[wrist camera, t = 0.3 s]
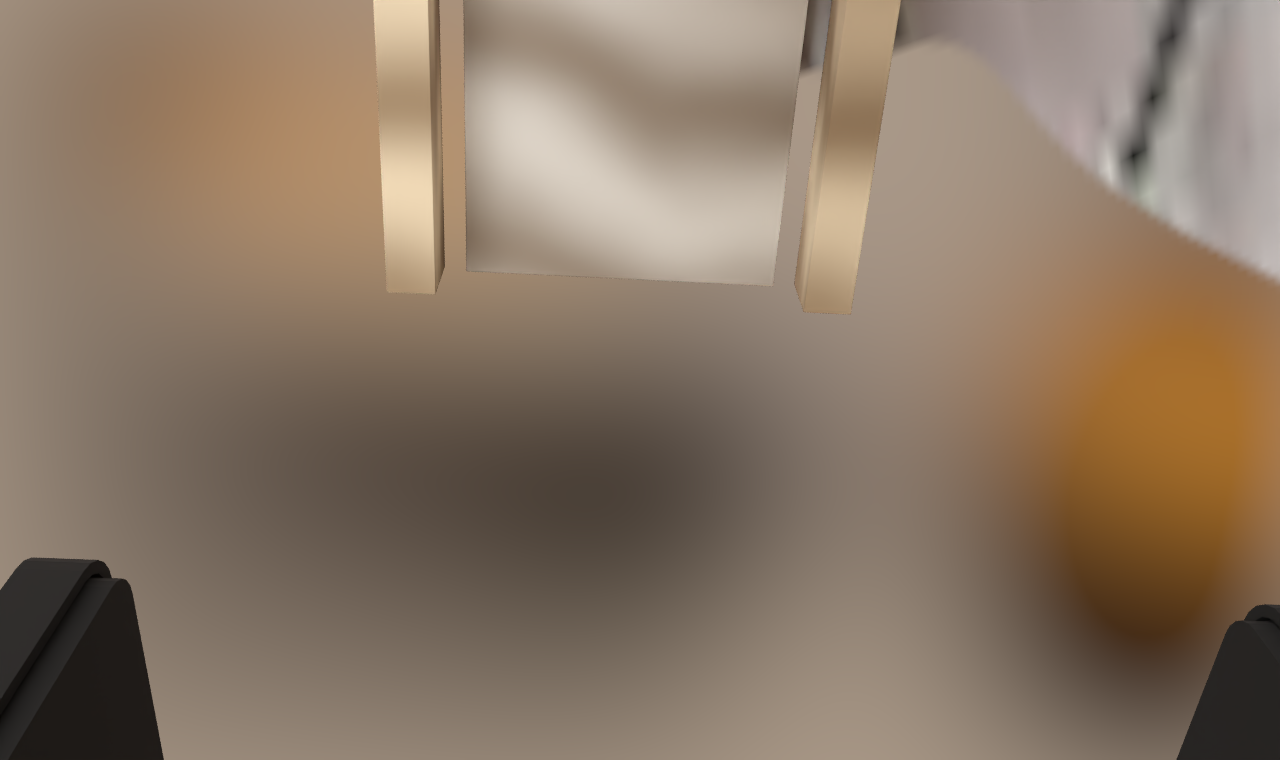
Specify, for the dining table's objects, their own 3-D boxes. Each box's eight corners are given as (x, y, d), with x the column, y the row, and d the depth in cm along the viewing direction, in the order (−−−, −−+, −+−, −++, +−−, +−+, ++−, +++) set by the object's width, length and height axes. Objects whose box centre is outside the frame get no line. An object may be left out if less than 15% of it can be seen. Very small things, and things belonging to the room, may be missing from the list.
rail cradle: (380, -176, 34) (365, -172, 32) (903, -143, 35) (922, -136, 33) (398, 264, 41) (386, 292, 39) (838, 286, 41) (850, 314, 39)
